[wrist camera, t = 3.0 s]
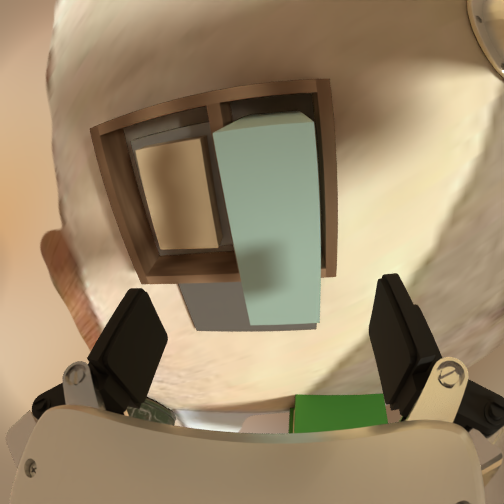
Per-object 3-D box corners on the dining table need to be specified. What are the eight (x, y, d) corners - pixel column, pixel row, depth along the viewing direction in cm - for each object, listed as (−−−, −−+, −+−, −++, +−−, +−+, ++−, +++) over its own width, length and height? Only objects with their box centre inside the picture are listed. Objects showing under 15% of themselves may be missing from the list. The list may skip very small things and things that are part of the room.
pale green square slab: (298, 110, 21) (313, 122, 11) (308, 233, 27) (319, 322, 17) (246, 115, 21) (212, 133, 11) (264, 236, 28) (250, 325, 18)
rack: (321, 81, 19) (329, 78, 16) (330, 253, 28) (336, 276, 24) (113, 121, 22) (89, 128, 19) (155, 263, 31) (141, 284, 28)
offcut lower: (215, 119, 22) (210, 122, 21) (236, 234, 29) (233, 244, 27) (140, 137, 24) (130, 141, 22) (168, 240, 30) (162, 249, 28)
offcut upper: (206, 135, 21) (200, 138, 20) (222, 237, 27) (218, 247, 25) (145, 145, 22) (135, 150, 21) (167, 239, 28) (160, 249, 26)
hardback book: (289, 409, 48) (281, 517, 28) (295, 394, 44) (288, 517, 24) (369, 409, 47) (376, 508, 27) (383, 393, 43) (394, 504, 23)
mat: (316, 269, 29) (317, 273, 28) (316, 325, 34) (316, 329, 33) (178, 276, 32) (176, 279, 31) (197, 327, 36) (196, 330, 36)
